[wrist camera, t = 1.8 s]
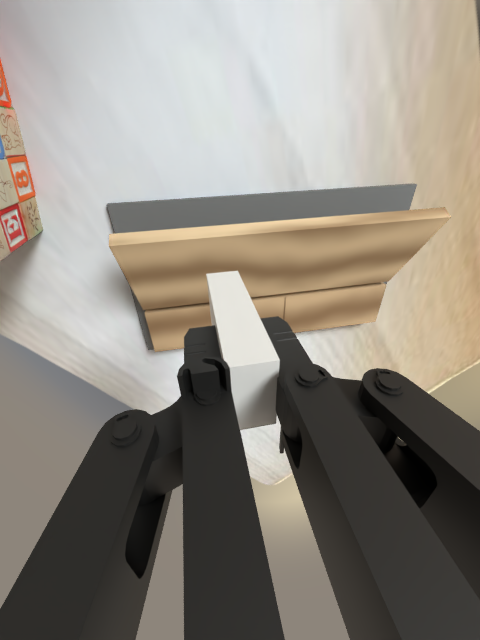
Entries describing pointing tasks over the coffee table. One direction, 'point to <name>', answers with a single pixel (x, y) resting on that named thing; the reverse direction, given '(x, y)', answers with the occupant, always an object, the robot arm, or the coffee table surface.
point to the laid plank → (275, 312)
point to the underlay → (253, 212)
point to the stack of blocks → (14, 181)
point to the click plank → (272, 254)
